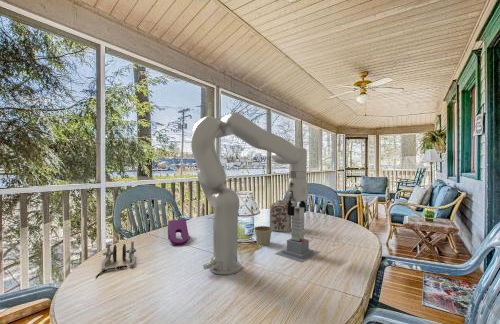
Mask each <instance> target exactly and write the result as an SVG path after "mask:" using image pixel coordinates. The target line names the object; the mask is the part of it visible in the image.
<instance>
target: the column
mask: <svg viewBox="0 0 500 324" xmlns="http://www.w3.org/2000/svg"><path fill="white" fill-rule="evenodd" d="M291 238H292V240H294V241H299V242H300V241H302V239H305V213H304V207H299V205H298V206H297V205H295V209H294V216H291Z"/></svg>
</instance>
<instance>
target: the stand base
mask: <svg viewBox="0 0 500 324" xmlns="http://www.w3.org/2000/svg"><path fill="white" fill-rule="evenodd" d="M309 241H310V240H309V239H308V238H307V239H306V238H304V239H302V241H300V242H299V241H294V240H292V237H291V238H289V239H286V248H284V249H283V250H280V251H278V252H276V253H274V255H277V256H279V257H283V258H286V259H290V260H293V261H297V262H300V263H304V262H305V261H308V260H309V259H312V258H313V257H314V256H316V255H318V254H321V251H319V250H314V249H310V248H309V246H310V242H309Z"/></svg>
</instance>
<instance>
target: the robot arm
mask: <svg viewBox="0 0 500 324" xmlns="http://www.w3.org/2000/svg"><path fill="white" fill-rule="evenodd" d="M232 135H233V136H235V137H237V138H238V139H240V140H241V141H243V142H244V143H246V144H248V145H249V146H251V147H253V148H255V149H258V150H263V151H267V152H269V153H271V158H272V161H273V162H274V163H276V164H278V165H289V175H288V177H289V179H288V185H287V194H286V195H285V197H284V198H285V203H287V206H288V211H287V214H288V215H291V217H292V216H294V209H295V207H296V205H295V204H296V203H299V204H298V207H304V214H305V213H306V212H307V204H308V200H309V198H308V197H309V193H308V192H309V190H308V179H307V169H308V165H307V164H308V162H307V160H308V151H307V148H304V147H296V145H294V144H293V143H292V142H290V141H288V140H287V139H285V138H284V137H282V136H280V135H277V134H276V133H275V134H274V133H272V132H271V131H268V130H265V129H264V128H263V127H261V126H259V125H258V124H256V123H255V122H253V120H250V119H249V118H248V117H247V116H245V115H243V114H241V112H240V113H239V112H236V111H235V112H229V114H228V113H227V114H226V115H224V116H219V117H214V116H211V115H206V116H204V117H202V118H200V119H199V120H197V121H196V122H195V124H194V125H193V127H192V135H191V143H190V145H191V152H192V155H193V157H194V161H195V162H196V165H197V167H198V171H197V180H198V183H199V185H200V187H201V189H202V192H203V193H204V196H205V198H206V199H207V202H208V203H209V204H210V206H211V207H213V208H214V214H213V223H212V224H213V226H212V227H213V229H212V230H213V233H212V234H213V239H212V240H213V242H212V243H213V244H212V245H213V249H212V250H213V253H212V254H213V255H212V256H213V257H211V259H210V261H209V262H208V263H205V264H203V267H202V268H203V270H205V271H206V270H208V269H209V271H210V272H211V273H213V274H216V275H221V276H222V275H227V276H228V275H233V274H236V273H238V272H239V271H241V270H242V263H241V262H240V261H238V249H239V248H238V245H239V244H238V241H239V240H238V239H239V238H238V233H239V232H238V225H239V224H238V220H239V219H238V218H239V212H240V210H239V209H240V197H239V195H238V194H237V192H236V191H235V190H233V189H232V188H228V187H227V186H226V184H225V183H226V180H227V174H226V171H225V169H224V167H223V164H222V162H221V160H220V158H219V155H218V153H217V151H216V148H215V147H216V146H215V140H216V139H218V138H225V137H228V136H232Z"/></svg>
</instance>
